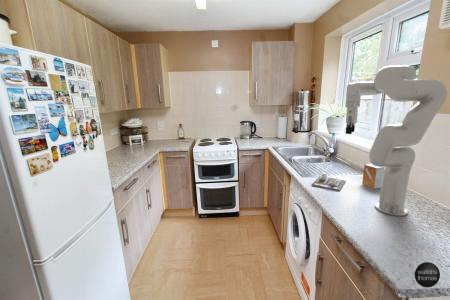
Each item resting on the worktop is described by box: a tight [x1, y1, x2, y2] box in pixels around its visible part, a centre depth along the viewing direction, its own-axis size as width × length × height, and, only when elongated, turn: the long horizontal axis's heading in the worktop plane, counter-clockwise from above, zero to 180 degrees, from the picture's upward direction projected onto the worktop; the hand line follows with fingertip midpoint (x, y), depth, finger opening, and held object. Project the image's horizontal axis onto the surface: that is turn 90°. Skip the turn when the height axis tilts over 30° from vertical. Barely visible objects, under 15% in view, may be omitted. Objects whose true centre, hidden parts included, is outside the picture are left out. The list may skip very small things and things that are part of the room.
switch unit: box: [311, 175, 346, 192], centre depth 137 cm, size 18×16×2 cm
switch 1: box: [321, 172, 328, 181], centre depth 140 cm, size 3×3×5 cm
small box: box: [362, 163, 385, 190], centre depth 131 cm, size 8×6×13 cm
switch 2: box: [330, 176, 338, 187], centre depth 131 cm, size 3×3×5 cm
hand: (349, 132), depth 132 cm, fingers open, 9 cm apart
